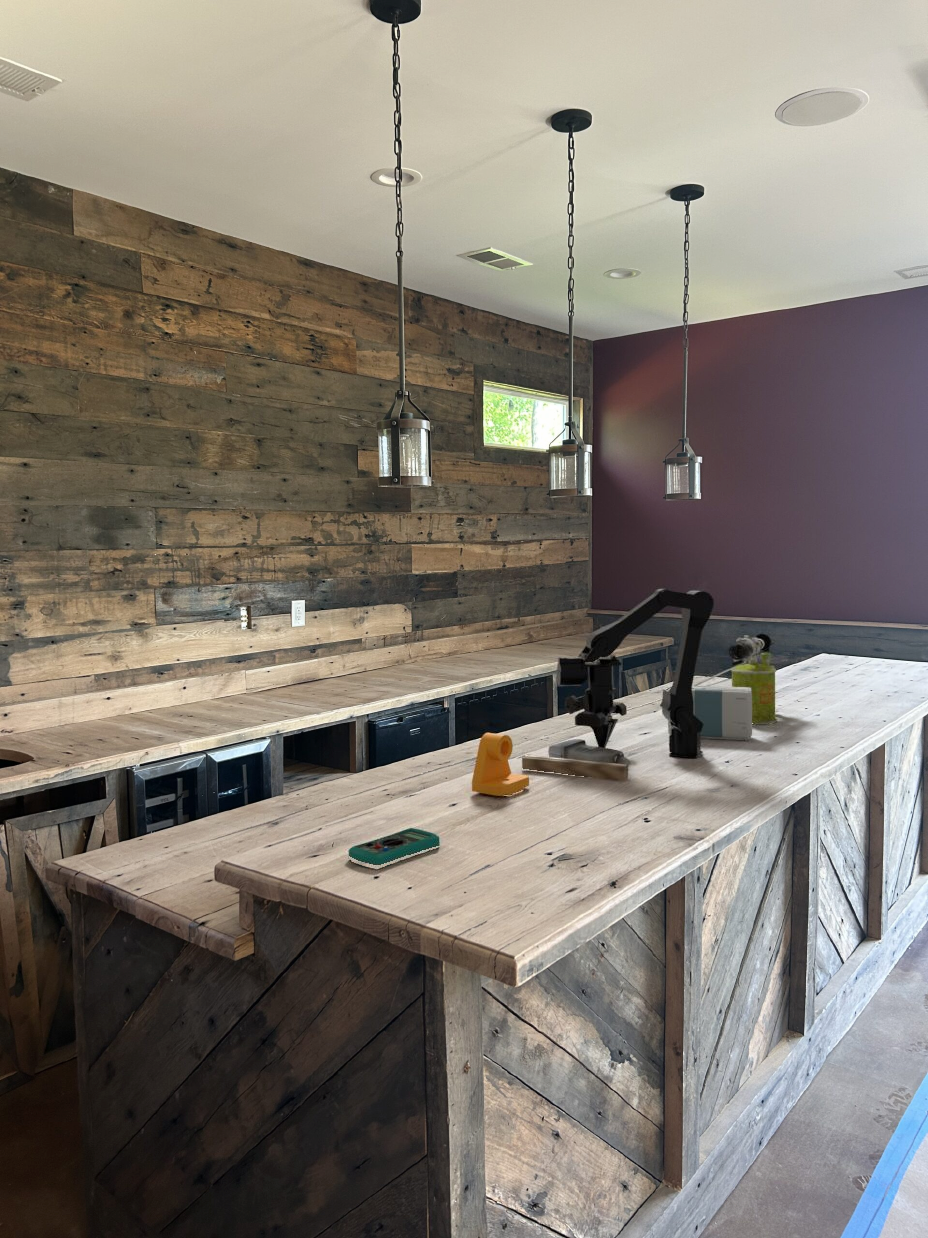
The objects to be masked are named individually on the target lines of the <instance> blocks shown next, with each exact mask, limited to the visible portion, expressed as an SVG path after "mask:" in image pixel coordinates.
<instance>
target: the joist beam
mask: <svg viewBox="0 0 928 1238" xmlns="http://www.w3.org/2000/svg"><path fill="white" fill-rule="evenodd" d="M521 763H522V764H521V769H522V768H523V769H529V770H537V771H544V772H554V773H561V774H568V775H575V776H574V777H577V776H584V777H583V778H587V777H591V778H590V779H596V778H599V780H606V779H607V781H608V780H609V781H614V782H616V781H617V782H625V781H627V780H628V779H629V765H628V764H617V763H606V762H596V761H585V760H575V759H564V758H554V757H549V756H540V755H530V754H525V755H524V756H522V758H521Z"/></svg>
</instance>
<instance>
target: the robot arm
mask: <svg viewBox="0 0 928 1238" xmlns="http://www.w3.org/2000/svg"><path fill="white" fill-rule="evenodd" d="M714 606H715V600H714V598H713V597H712V595H711V594H710V593H709V592H707V591H704V590H689V591H687V592H678V591H673V590H670V589H666V588H658V589H656V590H655V591H654V592H653V593H652V594H651V595H649V596H648V597H647V598H646V599H644V600H643V601H642V602H640V603H639V604H637V605H636V606H635V607H633V608H632V609H631V610H629V611H627V613H625V614H624V615H622V617H620V618H618V619H617V620H616V621H614V622H611V623H610V624H607V625H604V626H602V627H601V628H598V629H597V630H594V631H593V632H590V634H589V635H588V636H587V637H586V643H585V646H584V648H582V650H581V652H580V653H579V655H578V656H577V657H566V656H559V657H558V659H557V667H556V670H555V674H556V676H555V677H556V682H557V683H556V684H557V686H558V687H569V686H570V687H571V686H572V687H573V686H577V687H578V686H583V685H584V683H586V682H587V681H588V688H587V689H585V691H584V695H583V696H579V697H576V695H571V696H568V697H565V702H564V710H567V711H568V714H569V715H572V714H573V715H574V714H575V713H577V712H578V713H577V714H575V716H574V725H575V726H577V727H578V726H580V727H582V726H583V727H590V728H591V729H592V732H593V734H594V736H595V738H594V739H595V740H596V744H597V747H602V748H607V744H608V743H609V740H610V738H611V735H612V733H613V731H614V729H615V728H616V725H617V722H618V721H619V719H618V718H613V715H612V714H617V715H620V716H621V717H623V716H625V715H627V713H628V712H627V705H626V704H625V703H624V702H617V701H614V694H616V693H617V688H616V687H614V667H616V666H617V667H618V666H619V667H620V666H622V662H621V661H620V660H618V659H617V657H616V656H615V655H614V654H613V653H614V652H615V650H617V648H619V647H620V646H621V644H622V643H623V642H624V640H625V639H626V637H627V636H628V635H630V634H631V633H632V632H633V631H635V630H636V629H637V628H639V627H640V626H642V625H643V624H644V623H645V622H647V621H648V620H649V619H651V618H652V617H654V616H656V615H657V613H660V611H662V610H663V609H664V608H666V607H675V608H681V619H682V624H683V625H682V627H683V628H682V632H681V639H680V643H679V644H680V645H679V650H678V656H677V660H676V665H675V670H674V671H675V672H674V677H673V681H672V685H671V687H670V688H669V689H670V690H669V689H668V690H669V692H668V690H666V689H665V690H662V700H661V703H660V704H659V707H660V708H661V713H662V715H663V716H664V718H665V720H667V721H668V720H669V722H670V724H671V726H672V727H674V728H673V729H671V735H670V734H669V737H668V745H669V747H668V748H669V749H668V750H669V756H670V757H678V758H679V757H680V758H689V759H697V758H698V757H699V756H701V755H702V754H703V753H704V752H703V750H702V749H701V743H702V742H701V739H702V738H701V736H700V732H701V730H702V728H703V723H702V722H701V721H700V720H699V719H698V718H697V717H696V716H695V715H694V701H693V694H692V686H693V685H694V684H693V682H694V679H695V673H696V666H697V661H698V656H699V652H700V651H699V650H700V645H701V640H702V636H703V630H704V629H705V626H706V625H707V623H708V622H709V620H710V617H711V615H712V613H713V609H714Z"/></svg>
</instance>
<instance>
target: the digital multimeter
mask: <svg viewBox="0 0 928 1238" xmlns="http://www.w3.org/2000/svg"><path fill="white" fill-rule="evenodd" d="M439 845H440V846H441V843H440V836H438V835H437V834H436V833H433V832H430V831H427V830H423V829H418V828H415V827H414V828H413V827H409V828H406V829H403V830H401V831H397V832H395V833H392V834H388V835H386V836H383V837H380V838H377V839H373V840H371V841H367V842H364V843H360V844H357V845H353V846H352V847H350V848H349V849H348V857H349V856H350V857H352V858H354V859H356V860H358V861H361V862H365V863H369V864H373V865H381V864H384V863H387V862H390V861H393V860H395V859H398V858H401V857H404V856H406V855H411V854H414V853H417V852H420V851H422V850H426V849H429V848H432V847H436V846H439Z"/></svg>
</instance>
